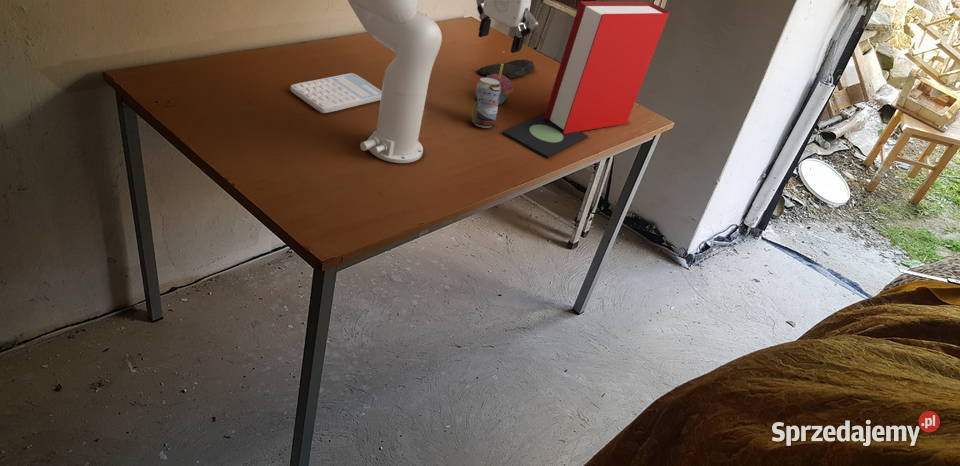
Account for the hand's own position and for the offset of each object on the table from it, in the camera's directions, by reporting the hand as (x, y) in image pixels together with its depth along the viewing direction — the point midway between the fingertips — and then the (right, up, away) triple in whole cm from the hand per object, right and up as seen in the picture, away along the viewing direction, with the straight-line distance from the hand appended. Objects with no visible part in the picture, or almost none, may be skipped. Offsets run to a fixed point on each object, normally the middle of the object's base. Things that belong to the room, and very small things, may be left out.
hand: (499, 43), depth 167 cm
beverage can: (-4, -17, +12) cm, 22 cm away
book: (+25, -14, +27) cm, 40 cm away
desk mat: (+12, -20, +15) cm, 28 cm away
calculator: (-40, -11, +8) cm, 42 cm away
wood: (+4, +3, +44) cm, 44 cm away
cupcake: (-1, -9, +26) cm, 27 cm away
